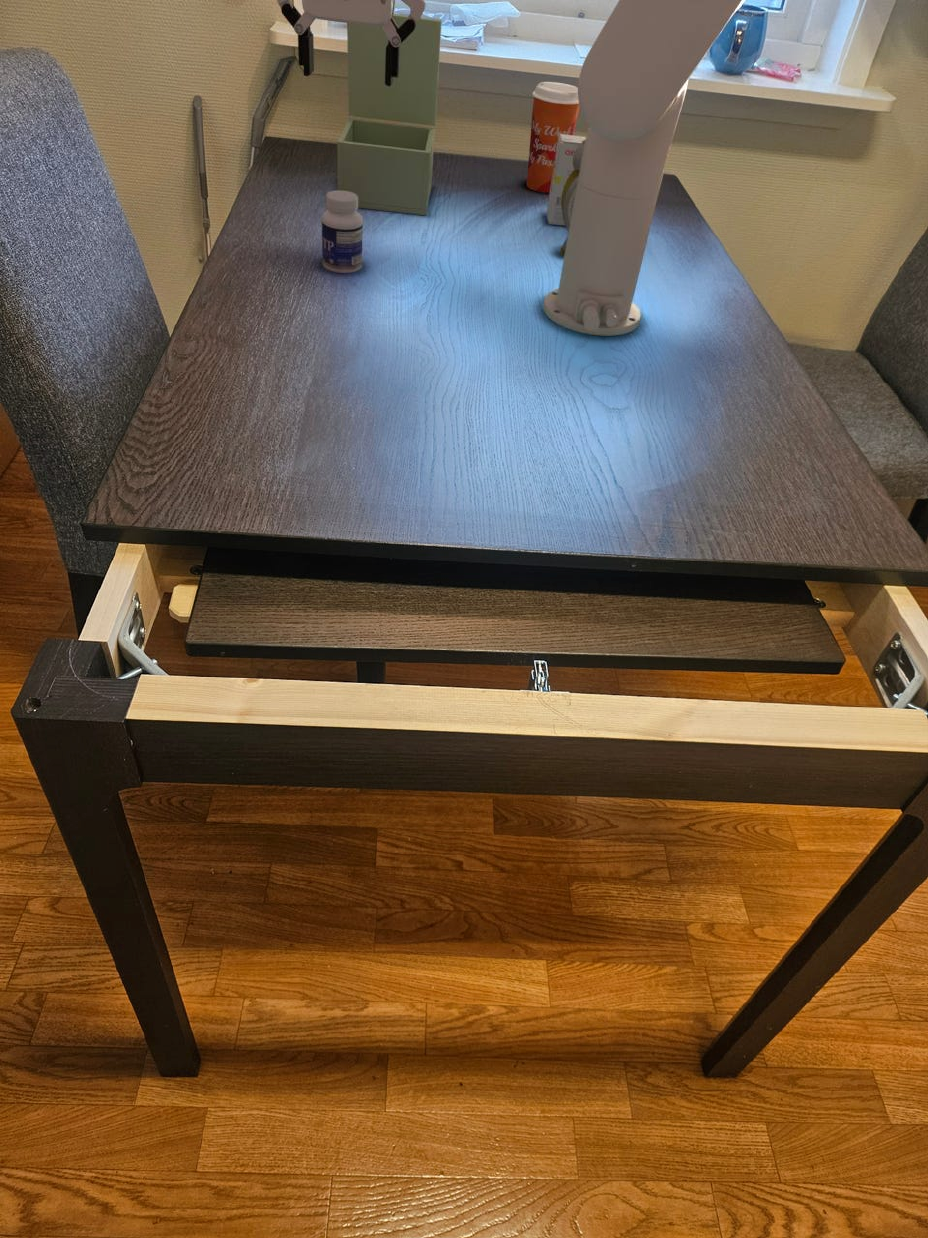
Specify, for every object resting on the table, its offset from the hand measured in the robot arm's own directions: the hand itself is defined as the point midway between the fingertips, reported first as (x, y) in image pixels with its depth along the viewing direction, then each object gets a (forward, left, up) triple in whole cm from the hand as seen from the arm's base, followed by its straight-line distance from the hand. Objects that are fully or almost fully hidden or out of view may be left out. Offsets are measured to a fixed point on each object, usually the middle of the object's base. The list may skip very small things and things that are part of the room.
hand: (349, 78), depth 101 cm
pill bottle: (-4, 0, -21) cm, 21 cm away
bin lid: (+31, -3, -5) cm, 32 cm away
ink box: (+24, -33, -21) cm, 46 cm away
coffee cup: (+40, -29, -21) cm, 54 cm away
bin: (+26, -3, -21) cm, 33 cm away
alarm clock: (+11, -35, -21) cm, 42 cm away
